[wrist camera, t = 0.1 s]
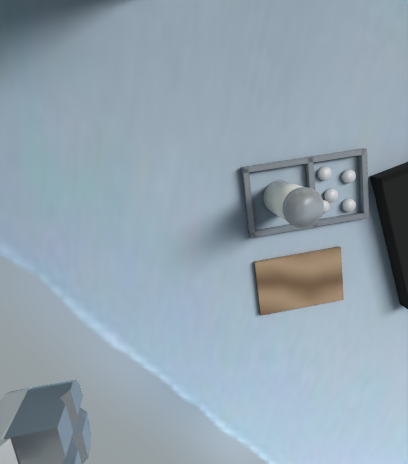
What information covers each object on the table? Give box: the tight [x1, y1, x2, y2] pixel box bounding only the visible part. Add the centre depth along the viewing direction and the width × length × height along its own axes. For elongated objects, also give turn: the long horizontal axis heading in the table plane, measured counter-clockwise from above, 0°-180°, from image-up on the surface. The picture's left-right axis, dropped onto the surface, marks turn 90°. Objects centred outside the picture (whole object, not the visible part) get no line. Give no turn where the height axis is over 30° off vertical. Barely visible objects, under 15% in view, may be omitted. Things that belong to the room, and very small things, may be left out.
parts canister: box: [263, 181, 324, 228], centre depth 53 cm, size 5×5×10 cm
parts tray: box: [241, 148, 369, 238], centre depth 58 cm, size 11×19×1 cm, turn 98°
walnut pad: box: [254, 247, 343, 315], centre depth 62 cm, size 9×14×1 cm, turn 98°
